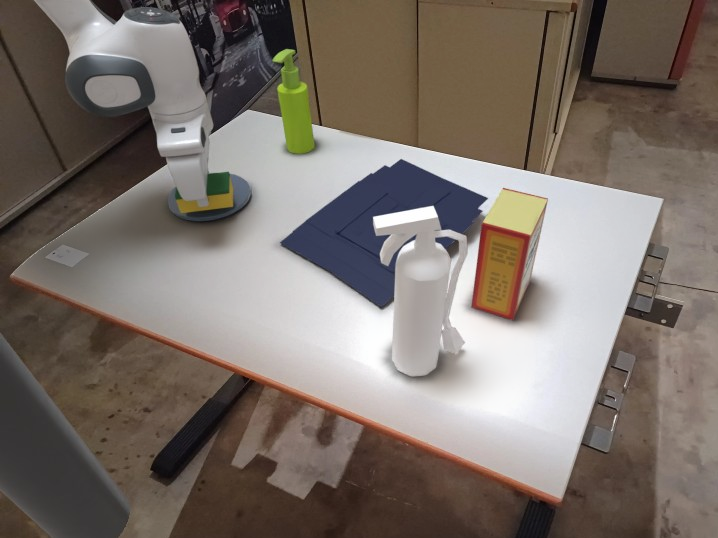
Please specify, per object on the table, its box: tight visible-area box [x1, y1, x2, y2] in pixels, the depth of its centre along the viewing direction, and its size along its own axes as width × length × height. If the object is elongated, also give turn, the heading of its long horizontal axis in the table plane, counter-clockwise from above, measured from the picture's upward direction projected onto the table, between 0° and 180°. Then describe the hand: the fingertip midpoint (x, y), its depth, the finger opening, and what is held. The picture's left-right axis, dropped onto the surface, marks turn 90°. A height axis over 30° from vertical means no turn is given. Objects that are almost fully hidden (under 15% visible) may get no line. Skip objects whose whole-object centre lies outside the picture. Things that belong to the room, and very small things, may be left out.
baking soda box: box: [470, 187, 549, 321], centre depth 80 cm, size 10×6×16 cm
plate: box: [167, 172, 252, 222], centre depth 104 cm, size 15×15×1 cm
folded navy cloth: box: [279, 158, 489, 308], centre depth 96 cm, size 24×30×4 cm
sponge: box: [175, 171, 233, 213], centre depth 98 cm, size 9×6×4 cm, turn 102°
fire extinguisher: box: [373, 206, 468, 377], centre depth 68 cm, size 7×12×25 cm, turn 99°
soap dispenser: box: [271, 48, 316, 155], centre depth 111 cm, size 6×7×20 cm
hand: (205, 192), depth 98 cm, fingers closed on sponge, 6 cm apart
